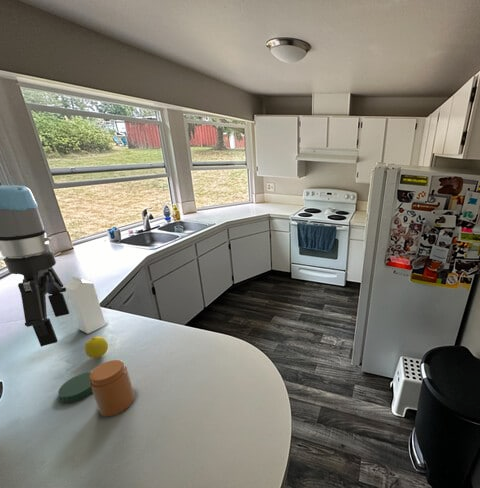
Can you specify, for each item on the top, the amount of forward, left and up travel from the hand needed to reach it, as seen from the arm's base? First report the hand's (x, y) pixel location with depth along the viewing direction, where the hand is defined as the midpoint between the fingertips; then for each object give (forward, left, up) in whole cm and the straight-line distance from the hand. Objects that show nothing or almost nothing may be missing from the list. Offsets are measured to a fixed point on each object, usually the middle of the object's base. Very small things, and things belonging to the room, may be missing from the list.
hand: (56, 328), depth 66 cm
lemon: (+3, +13, -22) cm, 25 cm away
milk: (-1, +34, -22) cm, 40 cm away
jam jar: (+9, -11, -22) cm, 26 cm away
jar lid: (0, 0, -20) cm, 20 cm away
